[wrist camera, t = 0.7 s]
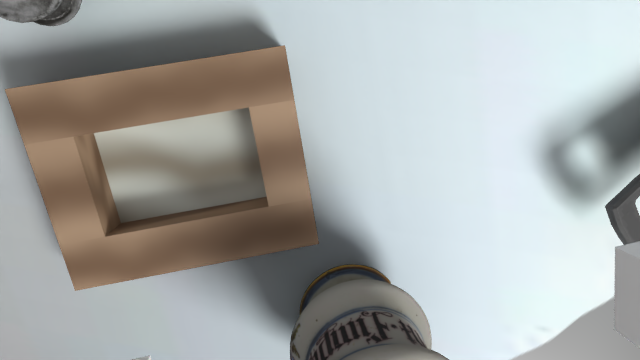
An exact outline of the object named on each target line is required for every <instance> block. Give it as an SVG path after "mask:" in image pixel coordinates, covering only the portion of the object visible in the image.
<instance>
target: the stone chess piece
mask: <svg viewBox="0 0 640 360" xmlns="http://www.w3.org/2000/svg"><path fill="white" fill-rule="evenodd" d="M81 2H82V0H0V17H2V18H4V19H6V20H9V21H15V22H21V23H24V22H35V23H38V24H40V25H46V26H56V25H61V24H64V23H66V22H68V21H69V20H71V19H72V18H73V17H74V16H75V15H76V13H77V12H78V10H79V9H80V5H81Z"/></svg>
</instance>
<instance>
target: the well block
mask: <svg viewBox="0 0 640 360" xmlns="http://www.w3.org/2000/svg"><path fill="white" fill-rule="evenodd" d="M5 91H6V94H7V97H8V100H9V103H10V105H11V108H12V111H13V114H14V117H15V120H16V123H17V126H18V128H19V131H20V134H21V137H22V140H23V143H24V146H25V148H26V151H27V154H28V157H29V160H30V163H31V166H32V168H33V171H34V174H35V177H36V180H37V183H38V186H39V188H40V191H41V194H42V197H43V200H44V203H45V206H46V209H47V211H48V214H49V217H50V220H51V223H52V226H53V229H54V231H55V234H56V237H57V240H58V243H59V246H60V249H61V251H62V254H63V257H64V260H65V263H66V266H67V269H68V271H69V274H70V277H71V280H72V283H73V286H74V289H75V291H76V290H82V289H87V288H92V287H97V286H102V285H108V284H113V283H118V282H123V281H128V280H134V279H139V278H144V277H149V276H154V275H160V274H165V273H170V272H175V271H180V270H186V269H191V268H196V267H201V266H206V265H212V264H217V263H222V262H227V261H232V260H238V259H243V258H248V257H253V256H258V255H264V254H269V253H274V252H279V251H284V250H290V249H295V248H300V247H305V246H310V245H316V244H319V241H318V235H317V229H316V224H315V218H314V212H313V206H312V200H311V194H310V189H309V183H308V177H307V171H306V165H305V160H304V154H303V148H302V142H301V136H300V130H299V125H298V119H297V113H296V107H295V101H294V96H293V90H292V84H291V78H290V72H289V66H288V61H287V55H286V49H285V46H278V47H272V48H265V49H259V50H253V51H246V52H240V53H233V54H227V55H221V56H214V57H208V58H201V59H195V60H189V61H182V62H176V63H170V64H163V65H157V66H150V67H144V68H138V69H131V70H125V71H118V72H112V73H106V74H99V75H93V76H86V77H80V78H74V79H67V80H61V81H55V82H48V83H42V84H35V85H29V86H23V87H16V88H10V89H5Z"/></svg>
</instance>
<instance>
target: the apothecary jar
mask: <svg viewBox="0 0 640 360" xmlns="http://www.w3.org/2000/svg"><path fill="white" fill-rule="evenodd" d="M290 360H449V359H447V358H446V357H444V356H443V355H441V354H439V353H437V352H435V351H433V350H431V331H430V326H429V323H428V320H427V318H426V315H425V313H424V312H423V310H422V308H421V307H420V306H419V304H418V303H417V302H416V301H415V300H414V299H413V298H412V297H411V296H410V295H409V294H408V293H406V292H405V291H403V290H402V289H400V288H398V287H396V286H394V285H392V284H391V282H390V281H389V280H388V279H387V278H386V277H385V276H384V275H383V274H382V273H380V272H379V271H377V270H375V269H373V268H370V267H367V266H363V265H343V266H339V267H335V268H333V269H330V270H328V271H326V272H325V273H323V274H322V275H320V276H319V277H318V278H316V279H315V280H314V281H313V282H312V283H311V285H310V286H309V287H308V289H307V290H306V292H305V294H304V296H303V298H302V301H301V305H300V316H299V318H298V320H297V322H296V324H295V326H294V329H293V332H292V335H291V342H290Z"/></svg>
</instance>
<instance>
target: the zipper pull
mask: <svg viewBox="0 0 640 360" xmlns="http://www.w3.org/2000/svg"><path fill="white" fill-rule="evenodd" d="M639 196H640V174H639V175H638V176H637V177H635V178H634V179H633V180H632V181H631V182H630V183H629V184H628V185H627V186H626V187H625V188H624V189H623V190H622V191H621V192H619V193H618V194H617V195H616V196H615V197H614V198H613V199H612V200H611V201H610V202H609V203H608V204H607V205H606V206H605V208H606V211H607V214H608V216H609V219H610V222H611V225H612V227H613V228H614V230H615V232H616V234H617V235H618V237H619V238H620V240H621V241H622V243H623V244H624V245H626V244H630V243H635V242H639V241H640V216H639V213H638V211H637V208H636V205H635V202H636V199H637V198H638V197H639Z"/></svg>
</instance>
